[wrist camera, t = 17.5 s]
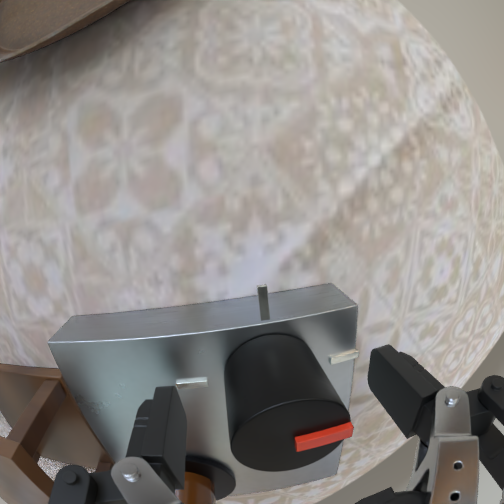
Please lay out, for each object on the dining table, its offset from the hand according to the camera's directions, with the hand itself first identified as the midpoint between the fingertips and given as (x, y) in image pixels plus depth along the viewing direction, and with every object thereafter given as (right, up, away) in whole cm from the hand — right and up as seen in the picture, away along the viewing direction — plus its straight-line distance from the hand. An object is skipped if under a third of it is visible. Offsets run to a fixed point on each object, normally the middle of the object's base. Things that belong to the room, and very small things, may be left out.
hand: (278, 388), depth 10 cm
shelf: (-17, -7, +4) cm, 19 cm away
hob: (-3, -4, +5) cm, 7 cm away
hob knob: (0, 0, +1) cm, 1 cm away
